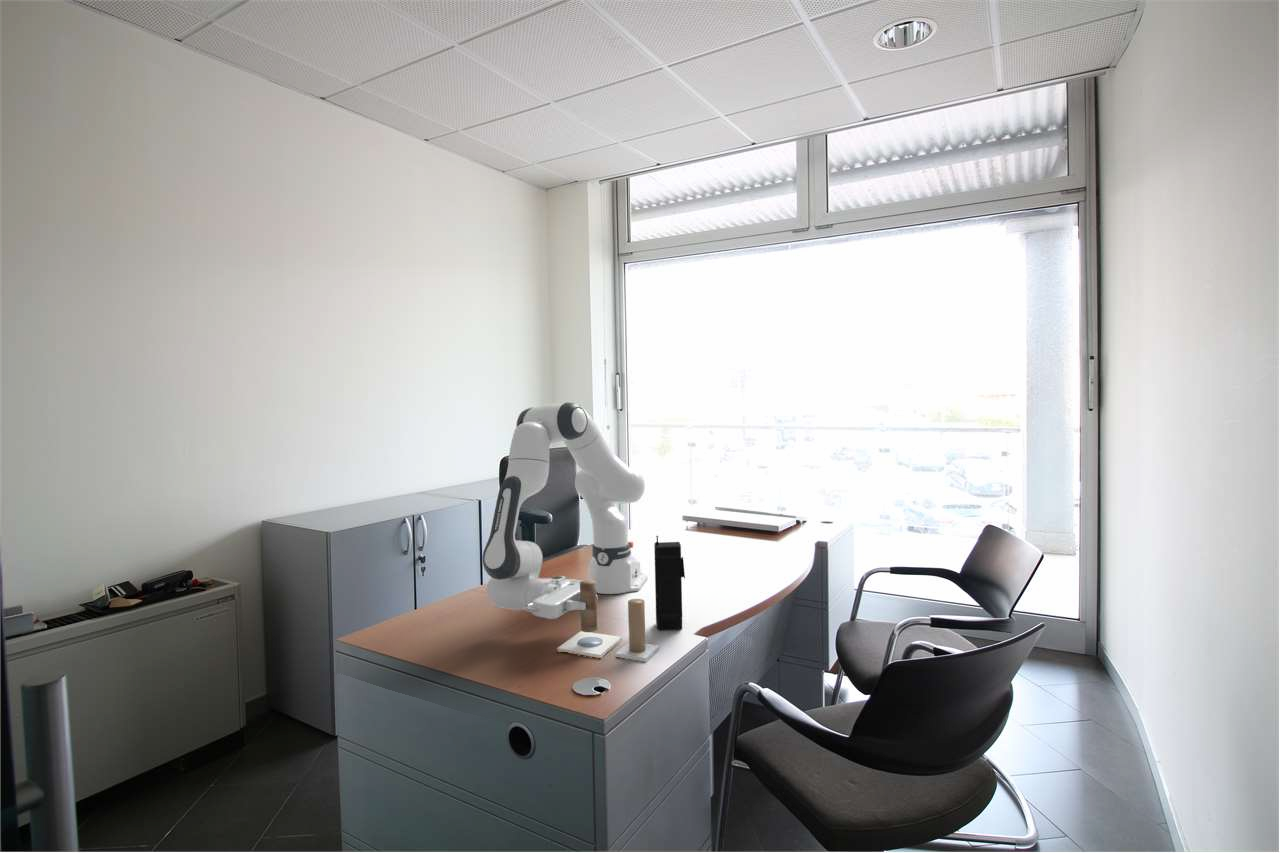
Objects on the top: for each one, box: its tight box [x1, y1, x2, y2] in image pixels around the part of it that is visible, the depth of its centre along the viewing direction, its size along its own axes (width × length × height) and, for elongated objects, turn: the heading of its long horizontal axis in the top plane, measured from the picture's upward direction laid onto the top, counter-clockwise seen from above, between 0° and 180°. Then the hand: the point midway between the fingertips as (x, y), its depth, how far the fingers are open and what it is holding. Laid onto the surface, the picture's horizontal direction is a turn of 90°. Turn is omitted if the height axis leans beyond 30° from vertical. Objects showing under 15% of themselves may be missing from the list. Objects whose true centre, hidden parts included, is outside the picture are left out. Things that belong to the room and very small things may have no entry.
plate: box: [556, 631, 623, 658], centre depth 171 cm, size 12×12×1 cm
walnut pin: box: [580, 579, 598, 633], centre depth 170 cm, size 4×4×12 cm
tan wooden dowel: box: [615, 598, 660, 663], centre depth 166 cm, size 8×8×13 cm
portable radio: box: [653, 535, 686, 631], centre depth 183 cm, size 8×6×25 cm
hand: (591, 602), depth 170 cm, fingers closed on walnut pin, 4 cm apart
